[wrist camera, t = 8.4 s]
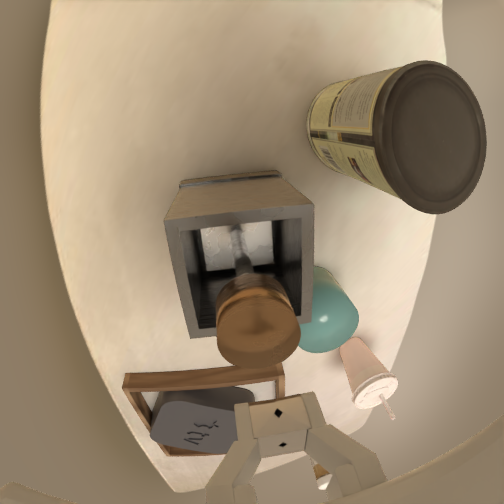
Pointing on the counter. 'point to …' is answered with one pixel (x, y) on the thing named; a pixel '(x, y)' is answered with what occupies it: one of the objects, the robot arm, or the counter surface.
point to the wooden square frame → (193, 381)
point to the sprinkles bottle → (321, 474)
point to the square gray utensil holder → (232, 213)
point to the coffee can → (403, 134)
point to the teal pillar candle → (328, 315)
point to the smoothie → (367, 376)
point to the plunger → (250, 298)
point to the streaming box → (198, 418)
